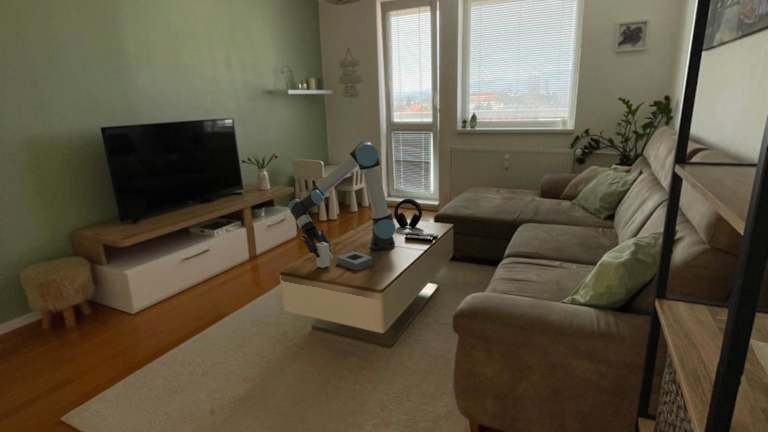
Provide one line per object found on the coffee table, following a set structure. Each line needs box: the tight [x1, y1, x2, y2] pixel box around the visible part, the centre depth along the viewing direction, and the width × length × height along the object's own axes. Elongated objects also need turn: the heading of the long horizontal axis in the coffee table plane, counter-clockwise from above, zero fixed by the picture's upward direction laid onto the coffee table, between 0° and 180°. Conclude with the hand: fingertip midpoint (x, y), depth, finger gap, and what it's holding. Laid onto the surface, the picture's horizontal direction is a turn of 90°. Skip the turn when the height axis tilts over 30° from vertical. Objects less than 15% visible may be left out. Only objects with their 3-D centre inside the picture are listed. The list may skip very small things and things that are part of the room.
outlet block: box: [336, 250, 374, 272], centre depth 230 cm, size 16×12×4 cm
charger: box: [315, 242, 331, 269], centre depth 225 cm, size 5×5×12 cm
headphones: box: [393, 198, 423, 229], centre depth 293 cm, size 19×7×20 cm, turn 73°
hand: (327, 260), depth 224 cm, fingers closed on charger, 5 cm apart
